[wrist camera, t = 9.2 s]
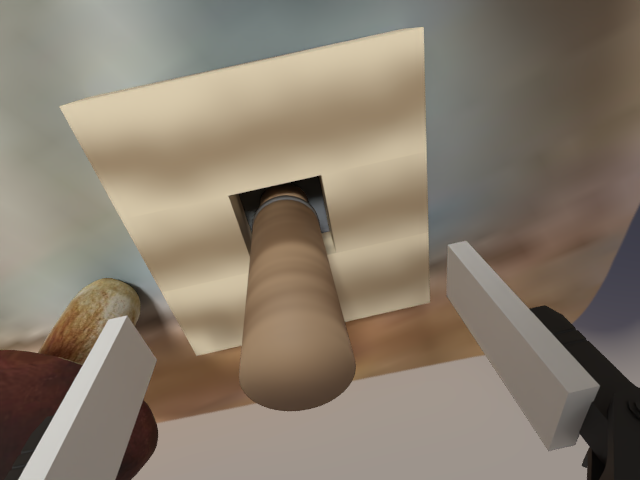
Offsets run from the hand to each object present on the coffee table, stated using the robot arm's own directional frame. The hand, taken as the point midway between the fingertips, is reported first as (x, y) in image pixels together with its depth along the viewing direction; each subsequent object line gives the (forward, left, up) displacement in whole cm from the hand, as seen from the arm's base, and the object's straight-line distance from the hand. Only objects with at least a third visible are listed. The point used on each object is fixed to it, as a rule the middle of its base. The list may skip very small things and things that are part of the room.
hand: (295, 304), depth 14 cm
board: (0, 0, -11) cm, 11 cm away
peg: (0, 0, -11) cm, 11 cm away
